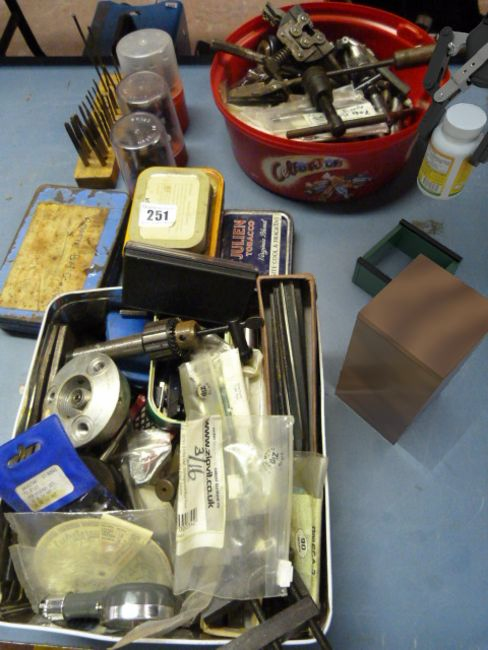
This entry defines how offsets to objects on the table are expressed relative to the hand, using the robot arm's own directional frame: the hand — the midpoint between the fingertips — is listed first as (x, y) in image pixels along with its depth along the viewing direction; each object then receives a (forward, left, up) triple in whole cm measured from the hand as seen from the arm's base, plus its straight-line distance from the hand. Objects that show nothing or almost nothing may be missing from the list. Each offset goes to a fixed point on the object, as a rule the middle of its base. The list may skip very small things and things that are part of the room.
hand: (447, 152), depth 54 cm
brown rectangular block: (-10, +14, -26) cm, 31 cm away
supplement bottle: (0, -2, -6) cm, 7 cm away
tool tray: (0, -2, -26) cm, 26 cm away
